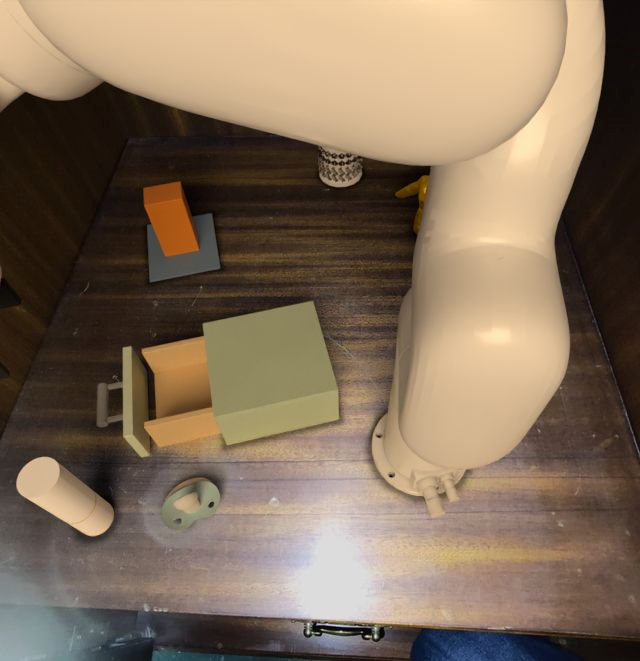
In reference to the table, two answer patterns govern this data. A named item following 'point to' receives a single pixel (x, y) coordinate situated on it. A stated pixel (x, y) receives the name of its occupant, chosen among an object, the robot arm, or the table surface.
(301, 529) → the table surface
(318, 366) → the cabinet
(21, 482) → the tube
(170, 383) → the drawer
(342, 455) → the table surface
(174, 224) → the orange rectangular block
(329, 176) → the decorative candle
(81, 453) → the table surface
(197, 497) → the pacifier
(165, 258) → the mat
